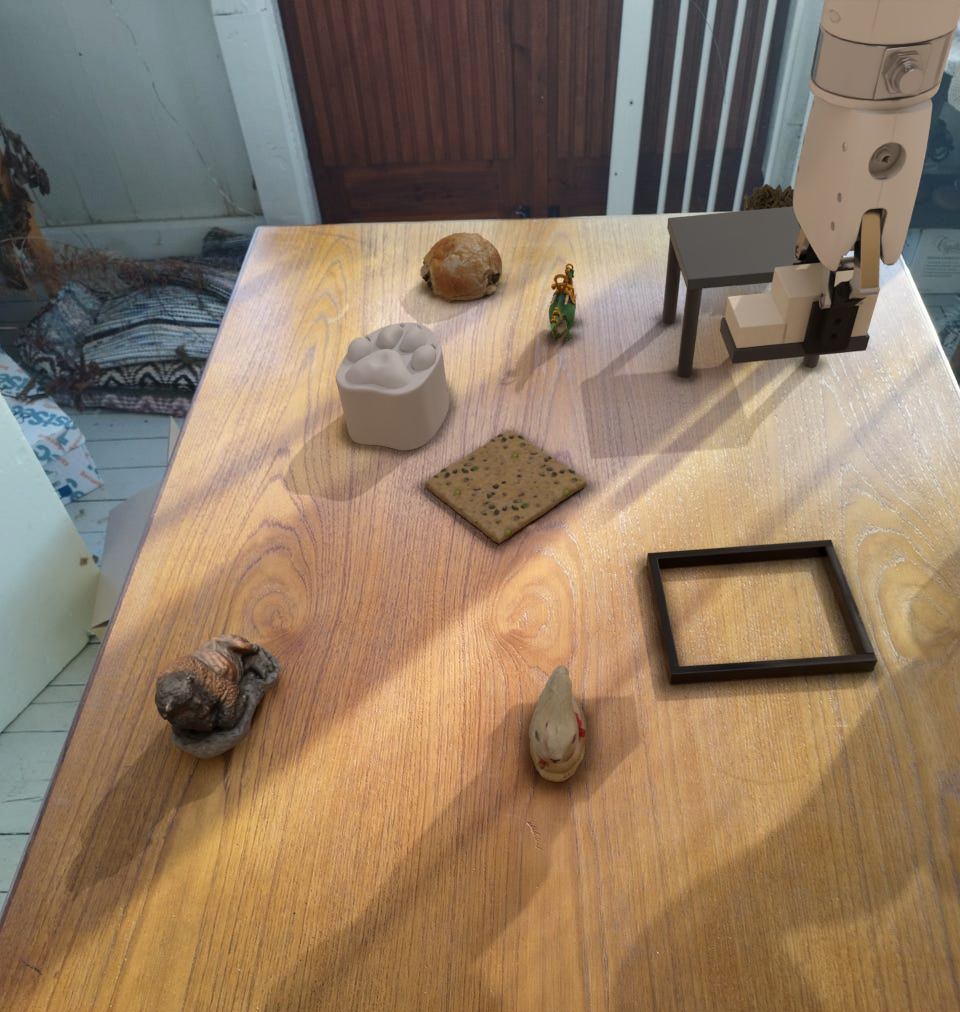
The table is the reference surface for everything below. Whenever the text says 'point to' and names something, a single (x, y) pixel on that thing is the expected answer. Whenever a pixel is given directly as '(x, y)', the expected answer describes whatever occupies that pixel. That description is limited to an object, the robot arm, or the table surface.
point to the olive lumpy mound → (769, 198)
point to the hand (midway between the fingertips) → (814, 328)
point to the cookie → (504, 485)
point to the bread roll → (462, 267)
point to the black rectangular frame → (769, 668)
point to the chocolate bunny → (557, 729)
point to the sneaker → (785, 317)
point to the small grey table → (724, 262)
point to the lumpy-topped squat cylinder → (394, 387)
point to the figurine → (563, 302)
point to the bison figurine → (214, 693)
